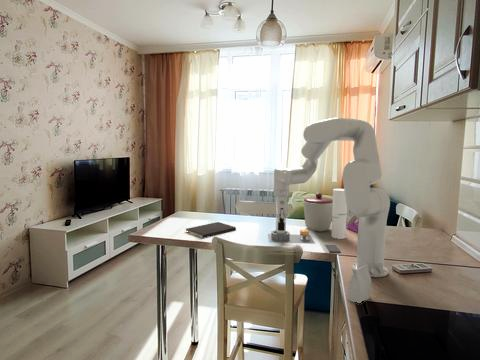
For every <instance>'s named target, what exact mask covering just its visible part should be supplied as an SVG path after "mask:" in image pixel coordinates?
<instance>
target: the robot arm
mask: <svg viewBox="0 0 480 360" xmlns="http://www.w3.org/2000/svg"><path fill="white" fill-rule="evenodd" d="M302 133H303V139H304V141H305V144H304V145H303V146H302V148H301V150H300V153H301V154H302V156H303V157H304V158H305V159H306V160H305V161H304V163H303V164H302V166H301V167H294V168H293V167H292V168H286V167H276V168H275V169H274V170H273V196H274V197H275V209H276V211H275V212H276V214H277V216H278V217H279V222H278V230H279V231H284V230H285V222H284V215H285V216H286V218H287V217H288V197H289V196H290V185H291V186H292V185H300V184H305V183H307V182H308V181H309V180H310V179H311V178H312V176H314V174H315V173H316V171H317V169H318V164H319V163H318V162H319V160H318V159H320V157H321V156H322V154H323V153H324V152H325V150H326V149H327V148H328V147H329V146H330V144H331V143H332V142H333V141H335V142H336V141H339V142H342V141H344V142H345V141H347V142H348V141H351V142H353V147H352V152H353V159H352V160H351V161H349V162H348V163H346V164H345V166H344V167H343V169H342V183H343V189H344V191H345V197H346V203H347V207H348V209H349V211H350V212H351V213H352V214H353V215H354V216H357V217H360V219H359V225H358V233H357V245H356V246H357V248H356V262H354V263H353V264H352V265H351V268H352V271H354V270H356V269H358V268H360V267H362V266H364V265H367V269H368V272H369V274H370V277H371V278H383V277H385V276H388V274H389V270H388V269H387V268H388V267H385V266H384V265H385V249H386V234H387V220H388V216H389V212H390V207H391V200H390V196H389V195H388V194H387V192H386V191H385V190H383V189H381V188H379V187H378V188H377V187H372V188H371V187H370V186H371V185H375V184H376V183H378V182H380V181H381V178H382V175H383V173H382V168H381V167H382V166H381V162H380V161H381V160H380V156H379V150H378V145H377V144H378V143H377V136H376V135H377V134H376V131H375V129H374V127H373V126H372V124H371V123H369V122H367V121H365V120H361V119H355V118H348V117H347V118H344V117H332V118H327V119H323V120H318V121H313V122H311V123H309V124H307V126H306V127H305V128H304V131H303V132H302ZM279 215H281V216H279ZM280 217H281V218H280Z"/></svg>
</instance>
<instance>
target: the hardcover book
mask: <svg viewBox="0 0 480 360" xmlns="http://www.w3.org/2000/svg"><path fill="white" fill-rule="evenodd" d="M236 230H237V228H236V226H233V225H230V224H226V223H223V222H220V221H217V222H210V223H208V224H207V223H205V224H202V225H197V226H192V227H188V228H187V227H186V228H185V231H188V232H190V233H189V234H191V233H193V234H195V235H194V236H196V235H198V236H201V237H206V238H208V237H207V236H210V237H213V235H214V236H217V234H218V235H221V234H225V233H231V232H233V231H236ZM188 232H187V233H188ZM193 234H192V235H193ZM198 236H197V237H198ZM201 237H200V238H201Z"/></svg>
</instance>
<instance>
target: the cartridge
mask: <svg viewBox="0 0 480 360" xmlns="http://www.w3.org/2000/svg"><path fill="white" fill-rule="evenodd" d="M279 216H281V215H279ZM280 218H281V217H280ZM278 222H279V217H278V216H277V213H276V214H275V230H276V234H286V231H287V230H286V228H287V227H286V226H287V217H286V216H285V215H284V222H285V230H284V231H279V230H278Z"/></svg>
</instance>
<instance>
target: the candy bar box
mask: <svg viewBox="0 0 480 360" xmlns="http://www.w3.org/2000/svg"><path fill="white" fill-rule="evenodd" d="M359 219H360V217H357V216H354V215H353V214H352V213H351V212H350V211H349V209H348V207H347V219H346V230H350V231H353V232H355V233H357V234H358V225H359Z"/></svg>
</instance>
